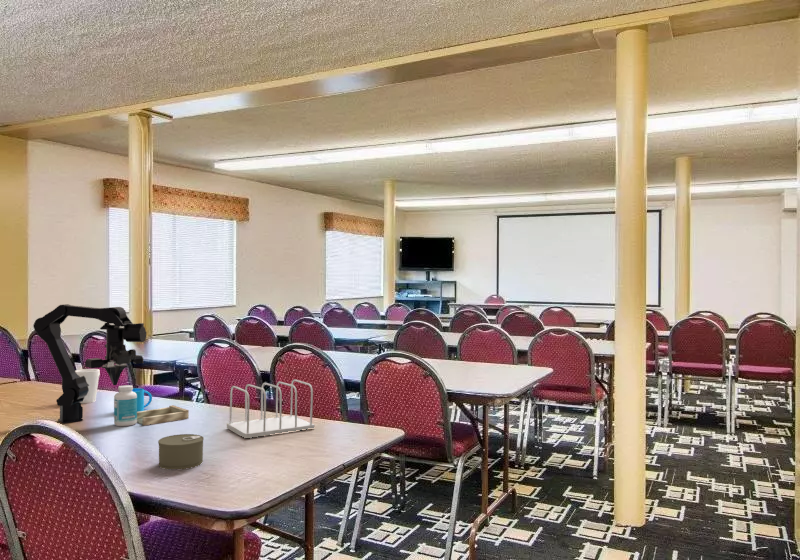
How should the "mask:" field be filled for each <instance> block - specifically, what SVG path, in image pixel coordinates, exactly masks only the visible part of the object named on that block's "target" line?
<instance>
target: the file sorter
mask: <svg viewBox="0 0 800 560" xmlns="http://www.w3.org/2000/svg"><path fill="white" fill-rule="evenodd" d="M294 382H297V383H301V384H303V385H307V386H309V388H310V410H309V411H310V412H309V413H310V414H309V415H310V416H309V421H307V420H305V419H302V418H300V417H298V390H297V387H296V386H295V385H294ZM280 384H281V385H285V386H287V387H290V415H284V416H282V411H283V409H282V403H283V402H282V401H283V400H282V399H283V398H282V397H283V395H282V390H281V388H280V386H279V385H280ZM264 386H269V387H272V388H275V417H268V418H267V417H266V416H267V394H266V390H265V388H264ZM248 387H252V388H255V389H258V390H260V419H259V418H258V419H250V394H249V391H248ZM244 388H245V389H244ZM244 388H241V387H239V386H237V385H231V387H230V392H229V393H230V394H229V422H227V423H226V429H227V430H230V431H231V432H233V433H234V434H236V435H238V436H240V437H241V436H242V438H243V437H244V439H245V438H250V439H253V438H252V437H257V438H259V437H258V436H264V435H270V434H275V433H282V432H288V431H296V430H302V429H308V428H314V427H315V423H313V402H314V399H313V397H314V389H313V386H312V384H311V383H309V382H305V381H303V380H299V379H293V380H292V381H291V383H286V382H283V381H278V382H276V385H275V384H272V383H267V382H263V383H262V385H261V387H260V386H257V385H253V384H250V383H247V384H246V385H245V387H244ZM234 389H236V390H238V391H241V392H242V393H244V411H245V413H244V417H245V419H244V420H242V421H235V422H232V419H233V418H232V416H233V414H232V412H233V411H232V410H233V406H232V405H233V391H234ZM293 391H294V392H293ZM278 393H279V394H278ZM294 393H295V394H294ZM293 394H294V399H295V400H294V415H293ZM278 403H279V404H278ZM278 406H279V411H278ZM278 412H279V413H278ZM278 414H279V416H278ZM264 437H265V436H264Z"/></svg>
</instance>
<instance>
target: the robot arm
mask: <svg viewBox="0 0 800 560" xmlns="http://www.w3.org/2000/svg"><path fill="white" fill-rule="evenodd" d="M68 317H75V318H76V317H77V318H86V319H87V318H89V319H95V320H99V321H101V322H104V324H103V325H102V326H101V327H99V328H100V330H106V335H105V336H106V338H105V339H106V342H105V343H106V344H104V348H106V349H105V351H106V352H105V353H106V355H105V356H104V359H102V358H98V357H93V358H87V359H86V360H85V362H84V366H85V368H87V369H98V368H102V369H104V370H105V371H106V373H107V375H108V376H109V380H110V381H111V384H112V385H113V386H117V385H118V382H119V380H120V377H121V374H122V372H123V371H124V370H125V369H126V368H128V367H129V365H130V364H131V363H133V364H135V365H139V364H144V357H143V356H142V355H141V354H140V355H139V354H137V350H136V349H135V348H134V349H133V348H132V349H128V350H127V348H126V344H125V342H127V343H144V342H145V341H146V339H147V331H146V327H145V326H144V325H145V323H144V322H142V323H141V322H140V323H133V322H132V320H131V319H130V318H129V317H128V316H127V311H126V310H125V308H124V307H121V306H113V307H101V308H100V307H91V306H90V307H89V306H82V305H81V306H79V305H71V304H59V305H57V306H56V307H55V308H54V309H52V310H50V311H49V312H48V313H46V314H45V315H43V316H42V317H38V318H36V320H35V321H34V323H33V326H32V327H33V329H34V331H35V332H36V335H38V337H39V338H40V339H41V340H42V341H43V342H45V343H46V345H47V347H48V350H49V352H50V354H51V356H52V359H53V361H54V364H55V367H56V369H57V370H58V372H59V375H60V378H61V389H62V394H61V395H60V396H59V397H58V398H57V399H56V403H57V406H58V407H59V418H58V419H57V420H58V421H59V422H60V423H62V424H69V423H73V422H81V421H84V419H83V417H84V416H83V414H84V413H83V411H84V407H83V406H82V403H80V402H82V401H83V400H84V397H85V396H86V395H87V393H88V391H89V389H88V386H89V384H87V382H86V378H85V376H81V377H80V376H79V375H77V374H76V372H75V371H76V370H75V368H74V365H73V363H72V360H71V358H70V356H69V354H68V352H67V349H66V348H65V345H64V342H63V340H62V338H61V337H62V335H61V334H62V333H61V332H62V328H61V324H63V323H64V322H65V320H67V318H68ZM124 341H125V342H124Z"/></svg>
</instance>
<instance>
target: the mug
mask: <svg viewBox="0 0 800 560" xmlns="http://www.w3.org/2000/svg"><path fill="white" fill-rule="evenodd" d="M132 391H133V392H135V393H136V394H137V412H139V411H145V408H147V407H148V406H149V405H151V402H153V401H152V399H153V395H152V393H151V392H149V391H148V390H146V389H144V388H140V387H137V388H136V387H133V390H132ZM145 394H147V395H148V398H149V399H148V401H147V403H146V404H145Z"/></svg>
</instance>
